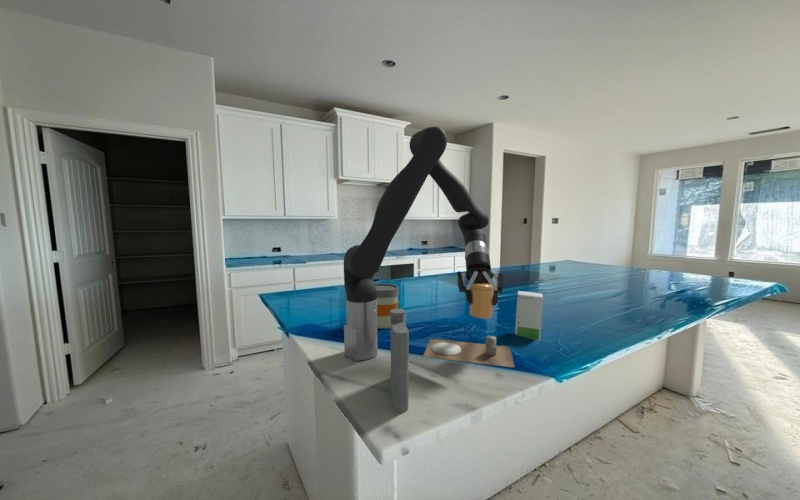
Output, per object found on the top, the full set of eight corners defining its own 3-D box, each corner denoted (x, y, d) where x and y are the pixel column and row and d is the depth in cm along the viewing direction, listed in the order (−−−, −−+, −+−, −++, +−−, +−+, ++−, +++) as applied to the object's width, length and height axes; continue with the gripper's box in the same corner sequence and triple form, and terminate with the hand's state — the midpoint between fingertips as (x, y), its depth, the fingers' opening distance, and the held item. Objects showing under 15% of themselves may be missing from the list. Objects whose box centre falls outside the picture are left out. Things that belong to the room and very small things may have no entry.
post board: (509, 351, 95) (510, 331, 94) (514, 372, 82) (515, 349, 81) (430, 343, 101) (430, 324, 101) (422, 361, 88) (422, 340, 87)
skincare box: (514, 338, 106) (516, 294, 104) (515, 332, 112) (516, 290, 110) (541, 342, 102) (543, 296, 101) (540, 335, 109) (542, 292, 107)
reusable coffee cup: (398, 330, 113) (398, 290, 112) (365, 330, 113) (364, 290, 112) (399, 319, 126) (399, 283, 124) (368, 319, 126) (368, 283, 124)
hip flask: (408, 412, 65) (409, 321, 63) (389, 412, 65) (389, 321, 63) (405, 374, 81) (405, 301, 79) (389, 375, 81) (389, 301, 79)
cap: (485, 319, 85) (487, 288, 84) (466, 315, 89) (467, 284, 88) (495, 314, 89) (496, 284, 88) (476, 310, 93) (477, 281, 92)
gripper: (455, 250, 95) (458, 296, 85) (502, 250, 94) (511, 297, 83) (453, 264, 101) (456, 309, 90) (497, 265, 100) (505, 311, 89)
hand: (482, 303), depth 87 cm, fingers closed on cap, 6 cm apart
